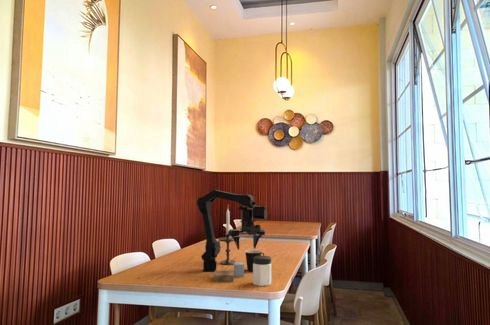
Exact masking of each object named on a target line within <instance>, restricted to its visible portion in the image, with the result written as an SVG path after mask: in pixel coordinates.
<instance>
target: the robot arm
mask: <svg viewBox="0 0 490 325" xmlns="http://www.w3.org/2000/svg"><path fill="white" fill-rule="evenodd" d="M217 199H223V200H227V201H231V202H232V201H233V202H235V203H237V204H239V205H240V206H239V207H238V208H237V211H238V210H239V211H241V220H240V223H241V224H240V225H241V227H240V230H239V229H236V228H235V229H229V232H228V235H230V237H233V239H234V241H233V242H234V243H235V246H236V248H237V250H238V251H239V250H240V238H241V237H240V235H249V236H251V235H252V238H253V239H252V241H253V242H252V243H253V249H254V250H256V247H257V245H258V243H259V240H260V238H262V237H263V236H265V235H266V230H265V229H263V228H261V224H255V222H254V220H260V221H261V220H262V221H265V220H267V219H268V210H267V206H266V205H265V206H258V204H257V203H256V201H255V198H254V196H253V195H251V194H237V193H232V192H227V191H223V190H219V189H212V190H211V191H210V192H208V193H207V194H205V195H203V196H200V197H199V198H197V200H196V206H197V208H198V210H199V212H200V214H201V218H202V223H203V229H204V234H205V238H206V239H205V251H204V252H203V253H202V255H200V257H201V261H202V260H203V268H202V272H216V271H217V267H218V266H217V263H218V262H217V260H216V258H217V257H218V255H219V254H220V253H221V248H222V247H221V241H219V240H217V239H216V236H215V231H214V226H213V220H212V215H211V214H212V213H211V211H212V203H213V202H215V201H216V200H217ZM253 218H254V220H253Z"/></svg>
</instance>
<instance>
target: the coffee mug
mask: <svg viewBox="0 0 490 325" xmlns="http://www.w3.org/2000/svg"><path fill="white" fill-rule="evenodd" d="M255 256H265V254H264V252H262V251H261V250H256V249H254V250H253V249H250V250H245V259H246V260H245V261H246V268H247V272H249V273H253V263H254V257H255Z"/></svg>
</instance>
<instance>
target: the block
mask: <svg viewBox="0 0 490 325" xmlns="http://www.w3.org/2000/svg"><path fill="white" fill-rule="evenodd" d="M233 271H234V278H235V277H239V278H243V277H245V262H243V261H242V262H239V261H238V262H236V261H235V262H234V264H233Z"/></svg>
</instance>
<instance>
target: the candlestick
mask: <svg viewBox="0 0 490 325" xmlns="http://www.w3.org/2000/svg"><path fill="white" fill-rule="evenodd" d="M226 207H227V210H226V215H225V216H226V218H225V219H226V220H225V222H226V225H225V226H226V229H225V231H226V233H225V236H224V237H223V236H222V237H218V241H220V242H224V243H226V249H225V253H226V254H225V256H226V259H225V260H220V262H219V264H220V265H222V266H232V265H233V266H234V262H236V260H231V259H230V253H231V249H230V243H232V242H235V241H234V239H233V237H231V236H230V235H228V232H229V230H230V226H231V225H230V219H231V218H230V214H231V213H230V211H229V207H230V204H229V203H228V204H227V206H226Z"/></svg>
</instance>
